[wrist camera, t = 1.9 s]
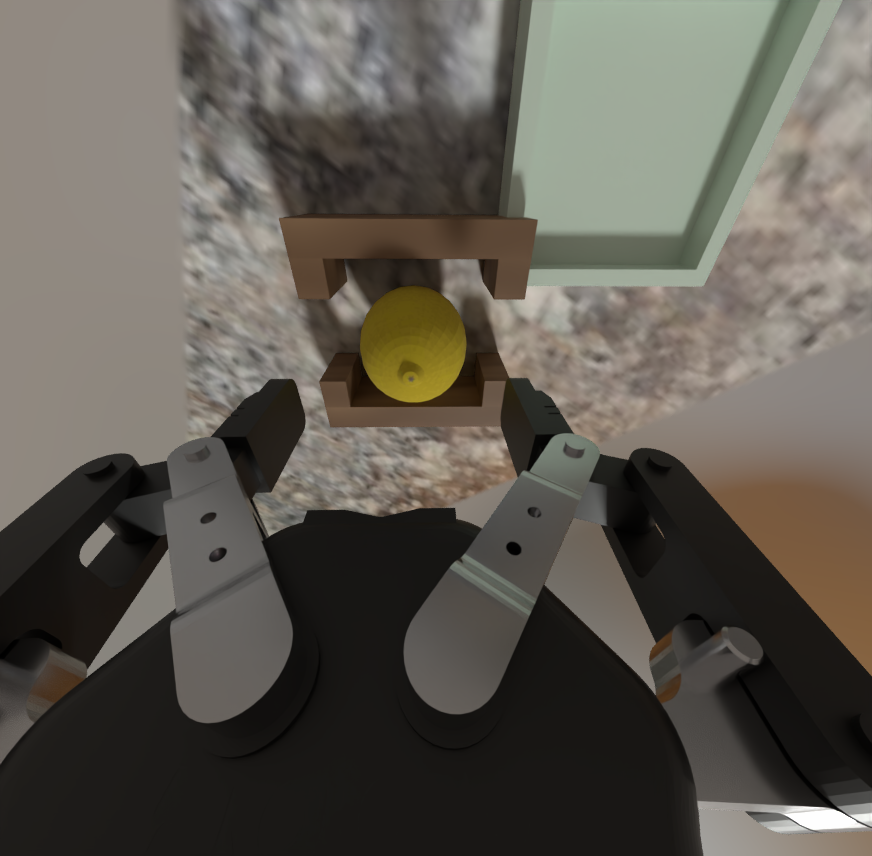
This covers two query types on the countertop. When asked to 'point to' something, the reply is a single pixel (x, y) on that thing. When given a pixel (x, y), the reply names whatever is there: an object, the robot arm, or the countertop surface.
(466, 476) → the countertop surface
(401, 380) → the lemon
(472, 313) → the countertop surface
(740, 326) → the countertop surface
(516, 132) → the dish
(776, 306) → the countertop surface
